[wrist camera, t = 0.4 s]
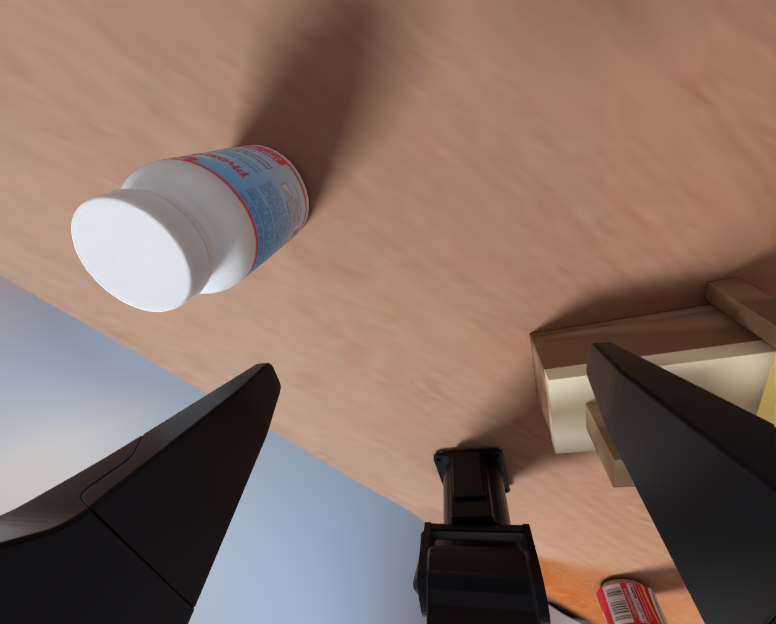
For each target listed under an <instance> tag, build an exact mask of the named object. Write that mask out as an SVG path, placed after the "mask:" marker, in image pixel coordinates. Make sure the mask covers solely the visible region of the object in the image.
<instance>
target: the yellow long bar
mask: <svg viewBox="0 0 776 624" xmlns="http://www.w3.org/2000/svg"><path fill="white" fill-rule="evenodd" d="M757 416H759V417H761V418H763V419H765V420H767V421H769V422H771V423H773V424H774V426H775V427H776V353H775V356H774V359H773V363H772V366H771V369H770V372H769V376H768V379H767V382H766V385H765V389H764V392H763V395H762V398H761V402H760V405H759V408H758V411H757Z"/></svg>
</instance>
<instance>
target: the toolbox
mask: <svg viewBox="0 0 776 624" xmlns="http://www.w3.org/2000/svg"><path fill="white" fill-rule="evenodd" d="M705 299H706V300H707V301H709V302H710V303H712V304H709V305H703V306H697V307H691V308H685V309H679V310H673V311H667V312H660V313H654V314H648V315H642V316H636V317H630V318H624V319H618V320H612V321H605V322H599V323H593V324H587V325H581V326H575V327H569V328H563V329H557V330H550V331H544V332H538V333H532V334H530V340H531V348H532V356H533V364H534V372H535V380H536V388H537V396H538V402H539V405H540V408H541V411H542V414H543V417H544V420H545V423H546V426H547V429H548V432H549V435H550V438H551V429H550V419H549V410H548V400H547V391H546V382H545V372H544V369H552V368H559V367H567V366H574V365H581V364H587V358H588V350H589V346H590V344H591V343H592V342H601V341H610V342H612V343H614V344H616V345H618V346H620V347H622V348H624V349H626V350H628V351H630V352H632V353H634V354H636V355H638V356H640V357H641V356H648V355H655V354H663V353H670V352H678V351H685V350H692V349H700V348H707V347H715V346H722V345H729V344H737V343H744V342H752V341H759V340H765V341H766V342H767V343H769V344H770V345H772V346H773V347H775V348H776V299H775V298H773V297H772V296H770V295H768V294H766V293H764V292H763V291H761V290H759V289H757V288H755V287H754V286H752V285H750V284H748V283H746V282H744V281H743V280H741V279H739V278H737V277H736V278H730V279H725V280H719V281H713V282H708V284H707V290H706V296H705ZM551 441H552V438H551Z"/></svg>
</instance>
